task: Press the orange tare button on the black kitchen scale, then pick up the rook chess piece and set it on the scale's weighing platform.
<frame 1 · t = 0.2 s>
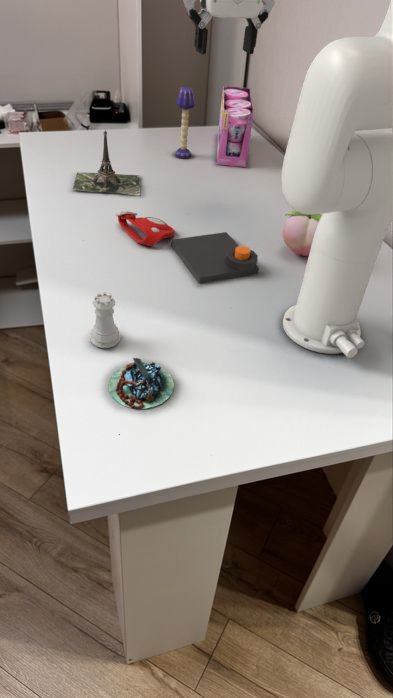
hand: (224, 52, 97), 31 cm above the table, tool pointing down, fingers open, 9 cm apart
dish: (141, 386, 74), on the table
scale: (213, 259, 101), on the table
rook chess piece: (105, 341, 81), on the table
tare button: (242, 253, 97), point 3 cm above the table, slide at 0.1 cm
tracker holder: (146, 234, 107), on the table
toy lamp: (182, 156, 140), on the table
decorative fruit: (300, 255, 106), on the table
eiffel tower figurine: (107, 185, 123), on the table
gum box: (231, 151, 146), on the table
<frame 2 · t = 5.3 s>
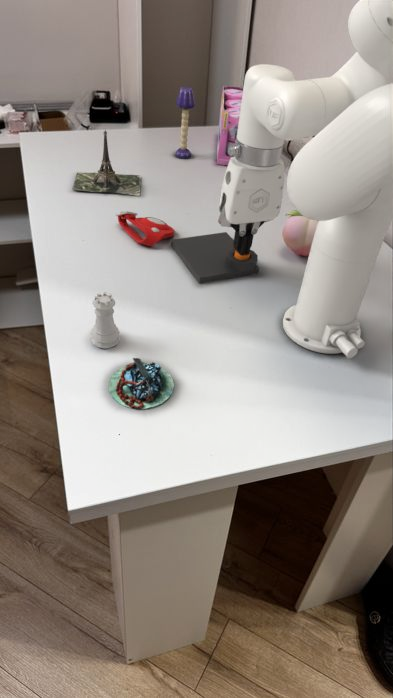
hand: (241, 251, 97), 4 cm above the table, tool pointing down, fingers closed
tare button: (242, 255, 98), point 3 cm above the table, slide at -0.4 cm, touching gripper
everything else where it was.
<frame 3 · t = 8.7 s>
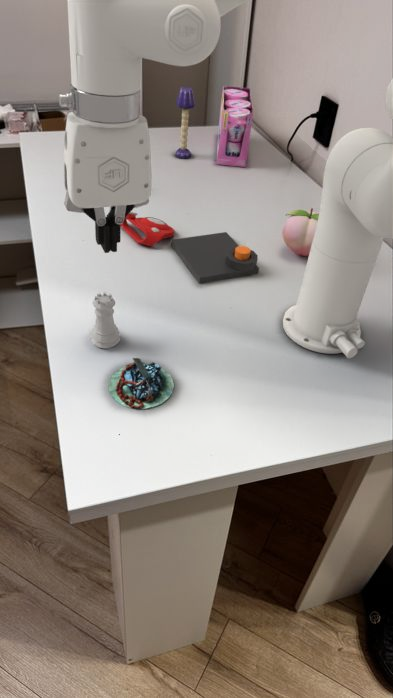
hand: (108, 247, 72), 16 cm above the table, tool pointing down, fingers closed
tare button: (242, 253, 97), point 3 cm above the table, slide at 0.1 cm
everything else where it was.
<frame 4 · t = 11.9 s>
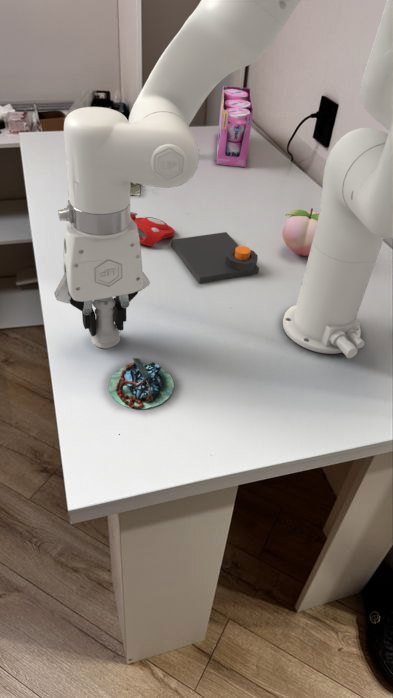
hand: (104, 326, 79), 3 cm above the table, tool pointing down, fingers closed on rook chess piece, 3 cm apart
rook chess piece: (105, 341, 81), on the table, touching gripper
everything else where it was.
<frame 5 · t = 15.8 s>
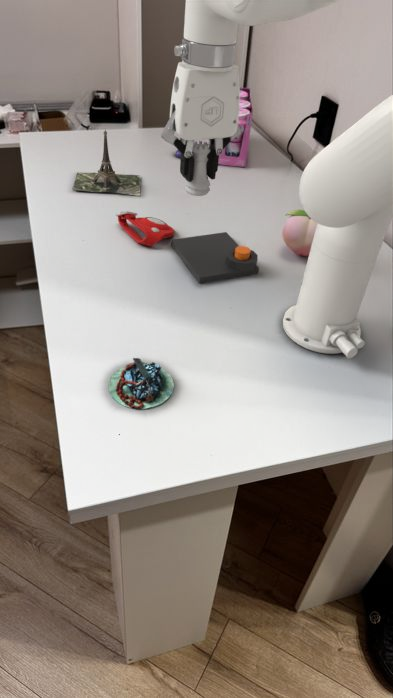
hand: (198, 176, 88), 17 cm above the table, tool pointing down, fingers closed on rook chess piece, 3 cm apart
rook chess piece: (196, 192, 90), point 14 cm above the table, touching gripper
everything else where it was.
when the fingers open (4 cm above the table, at t = 19.6 s): rook chess piece stays where it is, resting on scale.
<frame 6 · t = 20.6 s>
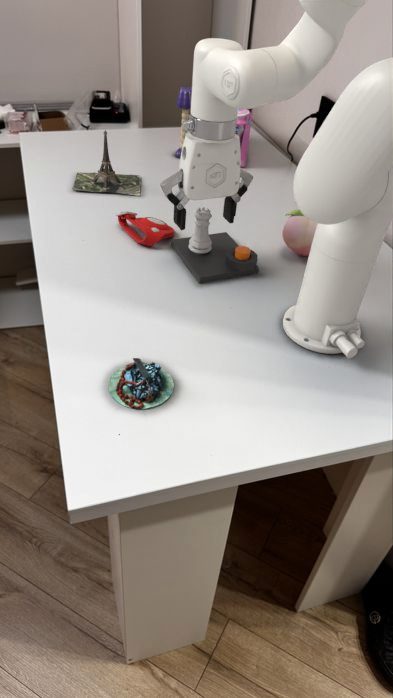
hand: (204, 223, 97), 7 cm above the table, tool pointing down, fingers open, 9 cm apart
rook chess piece: (199, 250, 101), point 1 cm above the table, touching scale
everything else where it was.
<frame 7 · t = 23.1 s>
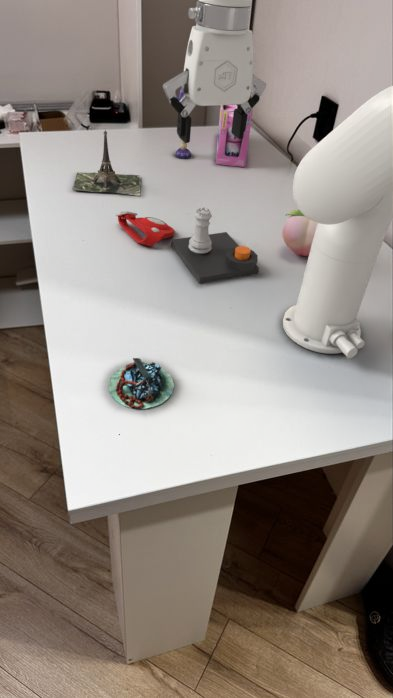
hand: (211, 138, 88), 22 cm above the table, tool pointing down, fingers open, 9 cm apart
nothing on the table moved.
at the end: tare button pushed in 0.8 cm at the most during the clip, back to where it started at the end; rook chess piece inside the target area on the scale (2.9 cm from its centre), point 1.2 cm above the scale's base; rook chess piece touching scale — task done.
